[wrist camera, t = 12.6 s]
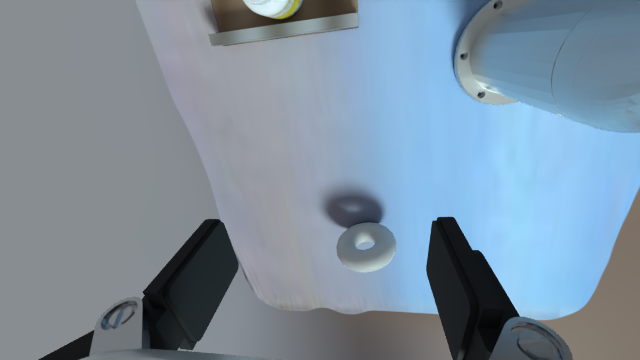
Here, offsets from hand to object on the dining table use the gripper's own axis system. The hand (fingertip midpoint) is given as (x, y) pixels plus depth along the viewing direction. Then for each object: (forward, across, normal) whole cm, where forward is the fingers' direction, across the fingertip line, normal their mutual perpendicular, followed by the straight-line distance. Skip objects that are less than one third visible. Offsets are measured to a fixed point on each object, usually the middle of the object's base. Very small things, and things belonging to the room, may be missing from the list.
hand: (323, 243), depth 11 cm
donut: (+28, -2, +22) cm, 36 cm away
